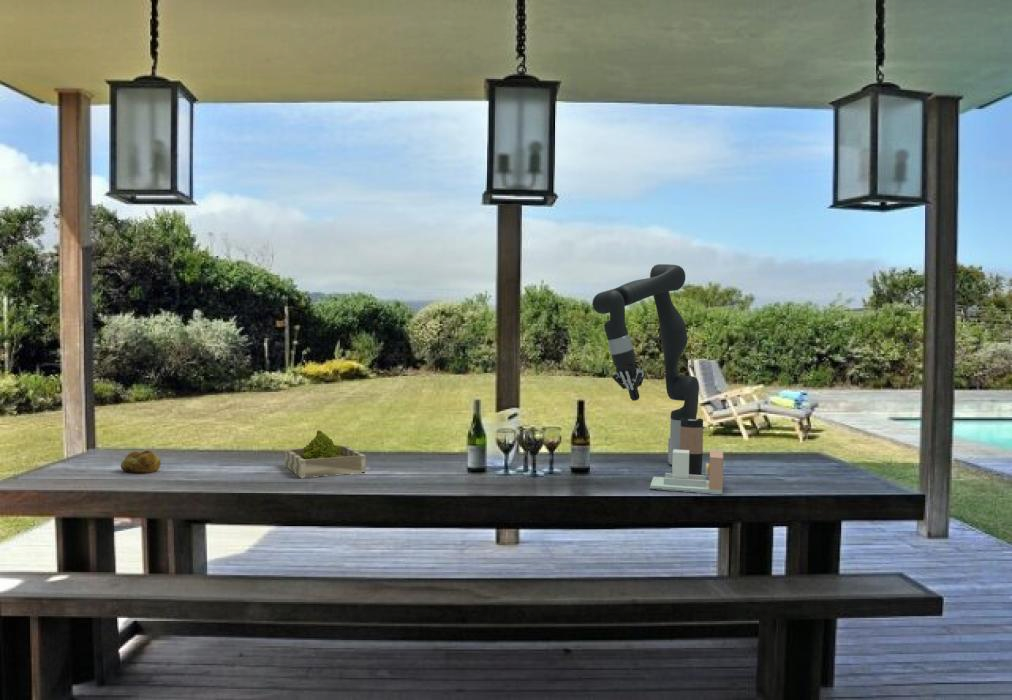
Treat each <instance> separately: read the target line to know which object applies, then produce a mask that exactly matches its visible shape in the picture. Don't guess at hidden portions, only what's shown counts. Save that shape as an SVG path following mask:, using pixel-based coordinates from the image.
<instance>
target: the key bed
mask: <svg viewBox="0 0 1012 700" xmlns="http://www.w3.org/2000/svg"><path fill="white" fill-rule="evenodd" d="M707 475H708V476H709V477H708V478H709V480H708V479H707ZM723 478H724V450H721V449H718V450H717V449H716V450H715V449H710V450H709V462H705V475H704V474H701V475H690V474H689V479H676V478H672V472H665V474H664V476H663V477H662V476H653V477H652V480H651V483H650V485H649V489H650V488H662V489H676V490H691V491H702V492H718V493H722V494H723V485H724V484H723V483H724V482H723V481H724V479H723Z"/></svg>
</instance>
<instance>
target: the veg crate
mask: <svg viewBox="0 0 1012 700" xmlns="http://www.w3.org/2000/svg"><path fill="white" fill-rule="evenodd" d="M340 446H341V449H340V453H339V455H342V456H343V457H331V458H318V459H305V460H304V459H303V458H302V457H301V456H300V454H304V447H303V448H290V449H289V448H288V449H285V450H284V452H285V453H284V467H285V466H286V467H287V469H288V468H289V469H290V470H291V471H290V470H289V469H288V470H289V471H290V472H292V471H293V472H294V473H295V474H297V475H298V476H299V477H301V478H304V477H313V476H324V475H336V474H350V475H352V474H351V473H361V472H366V471H367V470H366V466H367V464H366V461H367V460H366V459H367V457H366V455H365V454H364V453H361V452H359V451H357V450H355V449H354V448H351V447H349V446H348V445H340ZM286 467H285V468H286ZM293 472H292V473H293ZM294 473H293V474H294ZM297 475H296V476H297ZM298 476H297V477H298ZM299 477H298V478H299ZM301 478H300V479H301ZM304 479H305V478H304Z"/></svg>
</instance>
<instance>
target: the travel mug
mask: <svg viewBox="0 0 1012 700" xmlns="http://www.w3.org/2000/svg"><path fill="white" fill-rule="evenodd" d="M703 445H704V419H703V418H696V420H694V419H692V418H681V428H680V450H689V474H690V475H703V474H702V473H703V472H702V471H703V470H702V469H703V454H704V452H703V451H704V446H703Z"/></svg>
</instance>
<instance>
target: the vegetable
mask: <svg viewBox="0 0 1012 700" xmlns="http://www.w3.org/2000/svg"><path fill="white" fill-rule="evenodd" d="M341 446H342V445H337V444H335V443H334V442H333V439H332V438H330V437H329V436H328V435H327V434H326V433H324V432H323V431H322V430H320V429H319V430H316V435H315V436H314V438H312V439H311V440H310V442H308V444H306V445H305V446H304V447H303V448H304V454H300V456H301V457H302V458H303V459H304V460H305V459H318V458H331V457H343V456H342V455H339V453H340V449H341Z"/></svg>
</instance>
